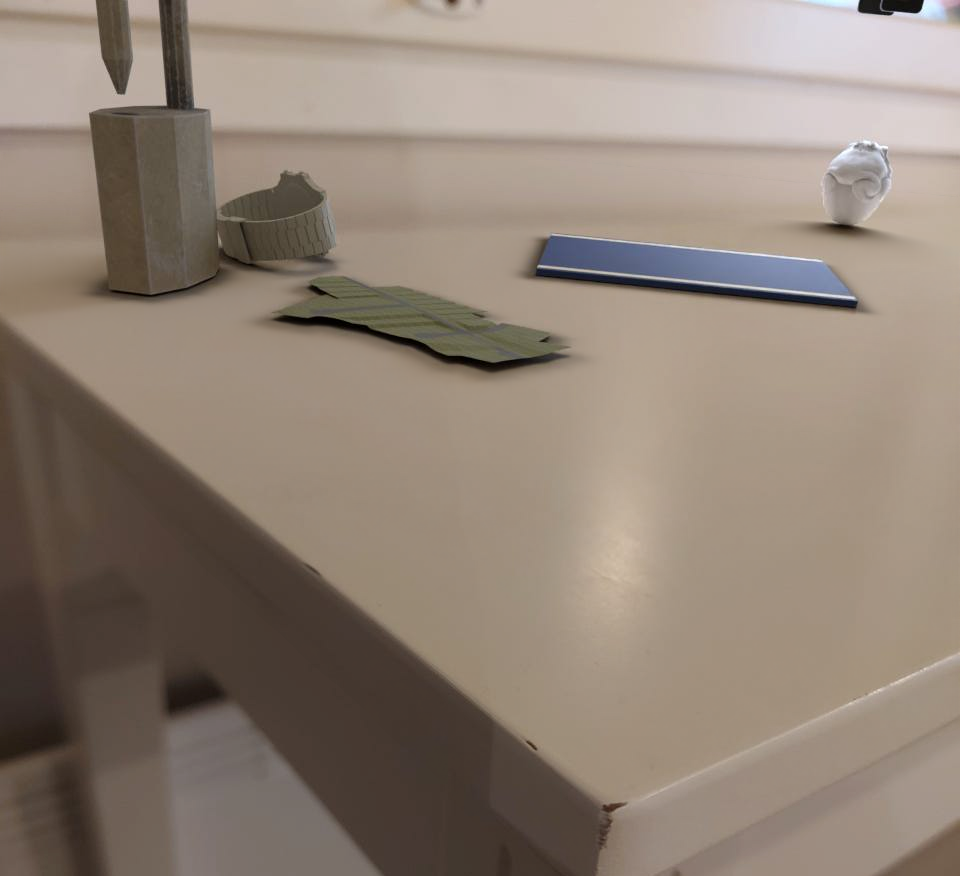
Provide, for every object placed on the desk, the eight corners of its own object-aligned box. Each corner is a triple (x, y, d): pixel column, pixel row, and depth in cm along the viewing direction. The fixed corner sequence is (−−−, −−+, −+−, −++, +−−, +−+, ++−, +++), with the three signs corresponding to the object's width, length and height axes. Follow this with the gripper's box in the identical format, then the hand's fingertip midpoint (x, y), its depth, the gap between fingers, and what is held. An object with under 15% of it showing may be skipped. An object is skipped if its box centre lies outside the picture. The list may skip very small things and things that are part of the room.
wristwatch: (361, 268, 61) (362, 179, 59) (273, 278, 57) (270, 183, 55) (276, 241, 67) (274, 158, 64) (191, 248, 63) (185, 160, 60)
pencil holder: (95, 288, 52) (52, -60, 45) (169, 261, 59) (144, -45, 51) (165, 298, 52) (134, -54, 44) (232, 269, 59) (216, -40, 51)
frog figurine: (891, 226, 94) (913, 144, 90) (863, 233, 89) (885, 146, 86) (829, 216, 97) (848, 136, 93) (799, 221, 92) (818, 137, 89)
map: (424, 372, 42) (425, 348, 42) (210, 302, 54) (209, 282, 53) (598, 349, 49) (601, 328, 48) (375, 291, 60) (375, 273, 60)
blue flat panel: (820, 264, 74) (821, 259, 74) (856, 307, 62) (858, 300, 62) (550, 238, 75) (551, 232, 75) (535, 275, 64) (536, 268, 63)
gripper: (1043, -279, 68) (959, 15, 77) (970, -223, 83) (907, 19, 92) (931, -287, 69) (861, 6, 78) (878, -230, 84) (825, 11, 93)
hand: (886, 13), depth 85 cm, fingers open, 9 cm apart
